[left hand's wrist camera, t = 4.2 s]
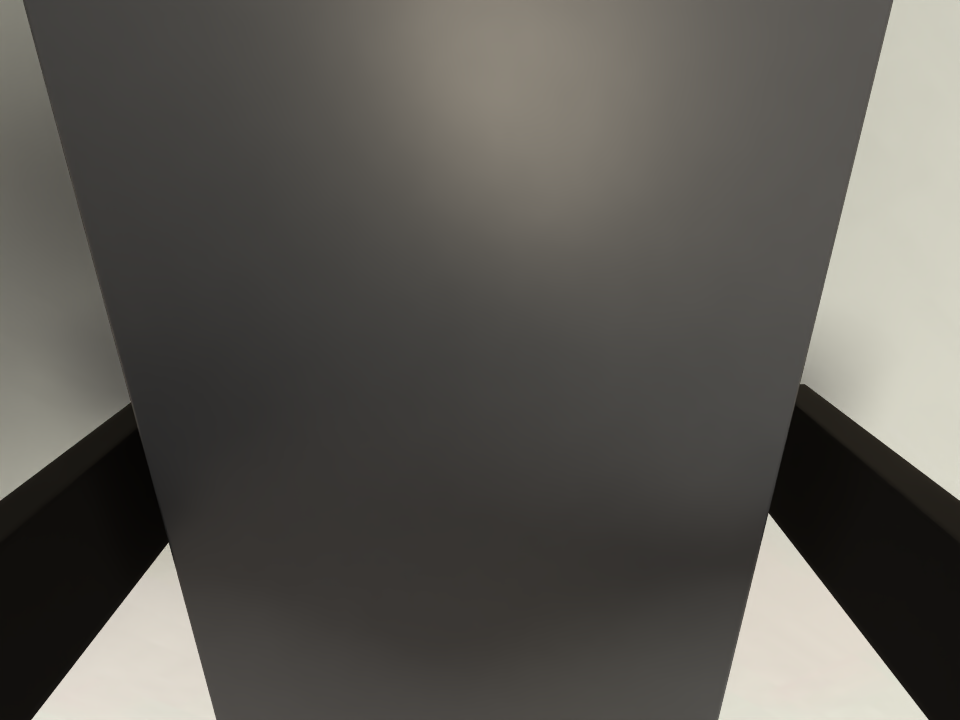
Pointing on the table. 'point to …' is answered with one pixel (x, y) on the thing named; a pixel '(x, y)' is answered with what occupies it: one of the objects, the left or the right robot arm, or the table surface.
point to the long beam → (462, 327)
